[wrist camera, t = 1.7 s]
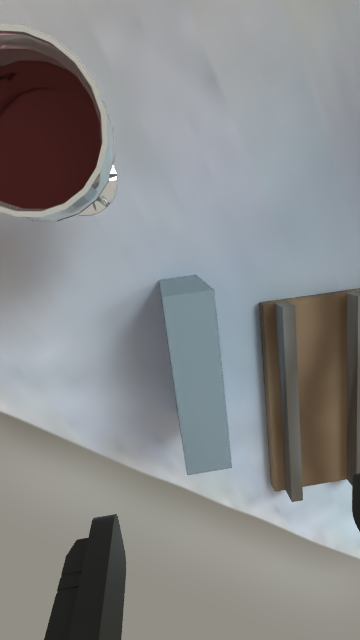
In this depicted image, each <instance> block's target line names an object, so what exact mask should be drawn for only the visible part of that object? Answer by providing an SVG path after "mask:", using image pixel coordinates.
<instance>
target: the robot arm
mask: <svg viewBox="0 0 360 640" xmlns="http://www.w3.org/2000/svg"><path fill="white" fill-rule="evenodd" d="M352 512H353V517H354V520H355V523H356V525H357V527H358V529H359V531H360V473H358V474H354V476H353V489H352ZM125 579H126V558H125V550H124V545H123V540H122V535H121V531H120V525H119V520H118V516H117V515H116V514H115V515H109V516H103V517H97V518H94V519H93V520H92V525H91V529H90V534H89V538H84V539H79V540H77V541H76V542H75V544H74V545H73V547H72V548H71V550H70V551H69V553H68V554H67V556H66V559H65V563H64V567H63V571H62V577H61V578H60V582H59V585H58V589H57V591H58V592H57V594H56V597H55V601H54V604H53V608H52V612H51V616H50V620H49V623H48V628H47V631H46V635H45V639H44V640H121V634H122V620H123V606H124V593H125Z"/></svg>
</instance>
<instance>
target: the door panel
mask: <svg viewBox="0 0 360 640" xmlns="http://www.w3.org/2000/svg"><path fill="white" fill-rule="evenodd" d="M159 284H160V291H161V298H162V305H163V312H164V319H165V326H166V333H167V340H168V348H169V355H170V362H171V369H172V376H173V383H174V390H175V397H176V404H177V411H178V418H179V424H180V431H181V438H182V444H183V451H184V457H185V464H186V470H187V475H192V474H198V473H204V472H210V471H216V470H222V469H228V468H232V463H231V453H230V443H229V433H228V423H227V414H226V404H225V394H224V384H223V374H222V364H221V354H220V344H219V334H218V324H217V314H216V304H215V294H214V289H213V288H211V287H210V286H209V285H208V284H206V283H205V282H204V281H203V280H202V279H200V278H199V277H198V276H197V275H192V276H184V277H177V278H170V279H162V280H159Z"/></svg>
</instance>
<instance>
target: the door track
mask: <svg viewBox="0 0 360 640" xmlns="http://www.w3.org/2000/svg"><path fill="white" fill-rule="evenodd" d="M259 306H260V321H261V336H262V351H263V366H264V381H265V396H266V411H267V426H268V441H269V456H270V471H271V484H272V486H273V488H274V490H275V491H281V490H286V492H287V493H288V495H289V497H290V499H291V501H292V502H295V501H301V500H303V491H302V487H304V486H310V485H316V484H321V483H327V482H333V481H339V480H345V479H347V480H348V481H349V482H350V484H351V485H352V486H353V476H354V474H358V473H360V289H353V290H345V291H338V292H331V293H324V294H317V295H310V296H303V297H296V298H289V299H282V300H275V301H268V302H261V303H259Z"/></svg>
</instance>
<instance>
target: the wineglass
mask: <svg viewBox="0 0 360 640" xmlns="http://www.w3.org/2000/svg"><path fill="white" fill-rule="evenodd" d="M114 159H115V148H114V129H113V126H112V123H111V120H110V117H109V115H108V112H107V109H106V106H105V103H104V102H103V100H102V99H101V96H100V93H99V90H98V87H97V84H96V83H95V81H94V80H93V78H92V77H91V75H90V74H89V73H88V71H87V70H86V68H85V67H84V65H83V64H82V62H81V61H80V59H79V58H78V57H77V56H76V55H75V54H73V53H72V52H71V51H70V50H69V49H67V48H66V47H65V46H64V45H62V44H61V43H60V42H59V41H58V40H56V39H55V38H54V37H52V36H50V35H47V34H45V33H42V32H40V31H38V30H35V29H33V28H30V27H28V26H25V25H15V24H0V212H3V213H6V214H9V215H12V216H15V217H23V218H26V219H29V220H32V221H60V220H62V219H65V218H68V217H71V216H74V215H77V214H78V215H93V214H95V213H98V212H101V211H102V210H103V209H105V208H106V207H107V206H108V205H109V204H110V202H111V201H112V199H113V198H114V195H115V192H116V188H117V176H116V172H115V169H114V166H113V163H114Z"/></svg>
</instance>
